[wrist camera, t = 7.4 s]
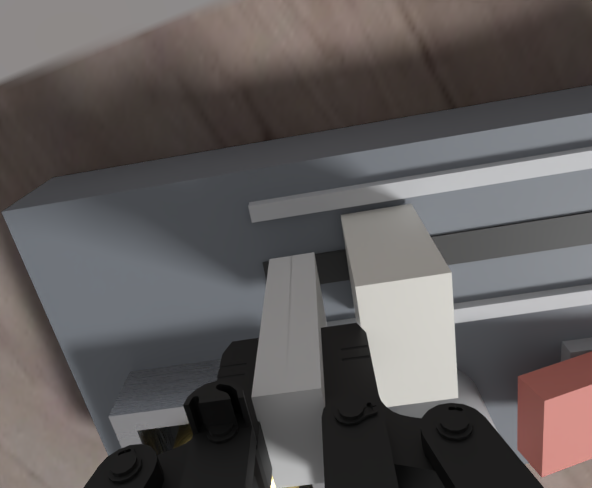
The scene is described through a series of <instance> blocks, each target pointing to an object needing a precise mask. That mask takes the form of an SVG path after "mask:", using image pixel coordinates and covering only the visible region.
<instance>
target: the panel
mask: <svg viewBox="0 0 592 488" xmlns="http://www.w3.org/2000/svg"><path fill="white" fill-rule="evenodd" d="M406 204H412V206H413V208H414V209H415V211H416V213H417V214H418V216H419V218H420V219H421V221H422V223H423V225H424V226H425V228H426V230H427V231H428V233H429V235H430V236H431V238H432V240H433V242H434V243H435V245H436V247H437V248H438V250H439V252H440V253H441V255H442V257H443V259H444V260H445V262H446V264H447V265H448V267H449V269H450V270H451V272H452V287H453V306H454V324H455V343H456V362H457V381H458V398H454V399H446V400H439V401H431V402H423V403H415V404H408V405H400V406H392V407H387V408H389V409H390V410H392V411H393V412H396V413H398V414H400V415H404V416H409V417H416V418H422V417H423V416H424V414H425V413H426V412H427V411H428V410H429V409H431V408H433V407H435V406H437V405H439V404H446V403H458V404H465V405H467V406H470V407H472V408H475V409H476V410H478V411H479V412H480V413H481V414H482V415H484V416H485V417H486V418H487V420H488V421H489V422H490V423H491V425H492V426H493V427H494V428H495V429H496V431H497V432H498V433H499V434H500V435H501V437H502V438H503V439H504V440H505V441H506V443H507V444H508V445H509V446H510V448H511V449H512V450H513V451H514V452H515V454H516V455H517V456H518V457H519V458H520V460H521V461H522V462H523V463H524V464H526V463H529V462H528V461H527V460H526V459H525V458H524V457H523V456H522V454H521V453H520V452H519V451H518V450H517V418H518V376H520V375H523V374H526V373H529V372H532V371H535V370H538V369H541V368H544V367H547V366H550V365H553V364H556V363H559V362H562V361H565V360H568V359H571V358H574V357H577V356H580V355H583V354H585V353H588V352H591V351H592V85H589V86H583V87H577V88H572V89H566V90H560V91H554V92H548V93H542V94H537V95H531V96H525V97H519V98H513V99H508V100H502V101H496V102H490V103H484V104H479V105H473V106H467V107H461V108H455V109H449V110H444V111H438V112H432V113H426V114H420V115H415V116H409V117H403V118H397V119H391V120H385V121H380V122H374V123H368V124H362V125H356V126H351V127H345V128H339V129H333V130H327V131H321V132H316V133H310V134H304V135H298V136H292V137H287V138H281V139H275V140H269V141H263V142H257V143H252V144H246V145H240V146H234V147H228V148H223V149H217V150H211V151H205V152H199V153H193V154H188V155H182V156H176V157H170V158H164V159H159V160H153V161H147V162H141V163H135V164H129V165H124V166H118V167H112V168H106V169H100V170H95V171H89V172H83V173H77V174H71V175H65V176H60V177H54V178H51V179H50V180H48V181H47V182H45V183H44V184H42V185H41V186H39V187H38V188H36V189H35V190H33V191H32V192H30V193H29V194H27V195H26V196H24V197H23V198H21V199H20V200H18V201H17V202H15V203H14V204H12V205H11V206H10V207H8V208H7V209H5V210H4V211H2V214H3V217H4V219H5V221H6V223H7V226H8V228H9V230H10V233H11V235H12V237H13V239H14V242H15V244H16V246H17V249H18V251H19V253H20V255H21V258H22V260H23V262H24V264H25V267H26V269H27V271H28V274H29V276H30V278H31V280H32V283H33V285H34V287H35V290H36V292H37V294H38V296H39V299H40V301H41V303H42V305H43V308H44V310H45V312H46V315H47V317H48V319H49V321H50V324H51V326H52V328H53V331H54V333H55V335H56V337H57V340H58V342H59V344H60V346H61V349H62V351H63V353H64V356H65V358H66V360H67V362H68V365H69V367H70V369H71V372H72V374H73V376H74V378H75V381H76V383H77V385H78V387H79V390H80V392H81V394H82V397H83V399H84V401H85V403H86V406H87V408H88V410H89V412H90V415H91V417H92V419H93V422H94V424H95V426H96V428H97V431H98V433H99V435H100V438H101V440H102V442H103V444H104V447H105V449H106V451H107V453H108V456H109V455H111V454H112V453H114V452H115V451H117V450H118V449H121V445H120V443H119V441H118V438H117V436H116V433H115V431H114V429H113V426H112V424H111V422H110V419H109V414H110V412H111V410H112V408H113V406H114V404H115V402H116V400H117V397H118V395H119V393H120V391H121V389H122V387H123V385H124V383H125V381H126V378H127V376H128V374H129V372H130V371H137V370H144V369H151V368H159V367H166V366H173V365H180V364H187V363H194V362H201V361H209V360H216V359H221V358H222V354H223V353H224V351H225V350H226V349H227V348H228V346H229V345H230V344H231V342H232V341H239V340H246V339H253V338H259V335H260V327H261V319H262V312H263V304H264V296H265V289H266V281H267V274H268V266H269V259H273V258H280V257H286V256H293V255H299V254H306V253H312V252H314V254H315V259H316V265H317V271H318V276H319V282H320V287H321V293H322V299H323V304H324V310H325V315H326V321H327V327H329V326H336V325H343V324H350V323H357V322H356V317H355V310H354V304H353V297H352V290H351V283H350V276H349V270H348V263H347V256H346V249H345V242H344V236H343V229H342V222H341V215H343V214H349V213H355V212H362V211H368V210H374V209H380V208H387V207H393V206H399V205H406ZM170 428H171V431H172V434H173V437H174V439H176V436H177V432H178V429H179V425H177V426H170Z"/></svg>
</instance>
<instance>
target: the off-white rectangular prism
mask: <svg viewBox="0 0 592 488" xmlns="http://www.w3.org/2000/svg"><path fill="white" fill-rule="evenodd" d="M341 222H342V229H343V236H344V242H345V249H346V256H347V263H348V270H349V276H350V283H351V290H352V297H353V304H354V310H355V317H356V322H357V324H358V325H359V326H360V327H361V328H362V329H363V330H364V331H365V332H366V334H367V339H368V344H369V349H370V354H371V359H372V364H373V369H374V374H375V379H376V384H377V389H378V394H379V397H380V399H381V401H382V402H383V404H384V405H385V406H386V407H392V406H400V405H408V404H415V403H423V402H431V401H439V400H446V399H454V398H458V381H457V362H456V343H455V324H454V306H453V287H452V272H451V270H450V269H449V267H448V265H447V264H446V262H445V260H444V259H443V257H442V255H441V253H440V252H439V250H438V248H437V247H436V245H435V243H434V242H433V240H432V238H431V236H430V235H429V233H428V231H427V230H426V228H425V226H424V225H423V223H422V221H421V219H420V218H419V216H418V214H417V213H416V211H415V209H414V208H413V206H412V204H406V205H399V206H393V207H387V208H380V209H374V210H368V211H362V212H355V213H349V214H343V215H341Z"/></svg>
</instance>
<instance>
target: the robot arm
mask: <svg viewBox="0 0 592 488" xmlns="http://www.w3.org/2000/svg"><path fill="white" fill-rule="evenodd" d="M183 407H184V410H185V413H186V415H187V418H188V421H189V424H190V427H191V430H192V433H193V436H192V439H191V440H190V441H188V442H187V443H185V444H183V445H181V446H179V447H177V448H174V449H172V450H169V451H167V452H164V453H161V454H159V455H157V454H156V452H155V451H154V450H153V449H152V447H151V446H147V445H144V444H135V445H129V446H126V447H124V448H121V449H118V450H117V451H115V452H114V453H112V454H111V455H109V456H108V457H107V458H106V459H105V460H104V461H103V462H102V463H101V464H100V465H99V467H98V468H97V470H96V471H95V472H94V474H93V475H92V477H91V478H90V479H89V481H88V482H87V484H86V485H85V487H84V488H271V483H272V476H273V480H274V483H275V487H276V488H284V487H293V486H301V485H310V484H319V483H324V485H325V488H544V487H543V486H542V485H541V484H540V483H539V481H538V480H537V479H536V478H535V477H534V475H533V474H532V473H531V472H530V470H529V469H528V468H527V467H526V466H525V464H524V463H523V462H522V461H521V460H520V458H519V457H518V456H517V455H516V454H515V452H514V451H513V450H512V449H511V448H510V446H509V445H508V444H507V443H506V441H505V440H504V439H503V438H502V437H501V435H500V434H499V433H498V432H497V431H496V429H495V428H494V427H493V426H492V425H491V423H490V422H489V421H488V420H487V418H486V417H485V416H484V415H482V414H481V413H480V412H479V411H478V410H476V409H475V408H472V407H470V406H467V405H465V404H458V403H446V404H439V405H437V406H435V407H433V408H431V409H429V410H428V411H427V412H426V413H425V414H424V416H423V417H422V418H416V417H409V416H404V415H400V414H398V413H396V412H393V411H392V410H390V409H389V408H387V407H386V406H385V405H384V404H383V402H382V401H381V399H380V397H379V394H378V389H377V384H376V379H375V374H374V369H373V364H372V359H371V354H370V349H369V344H368V339H367V334H366V332H365V331H364V330H363V329H362V328H361V327H360V326H359V325H358V324H357V323H350V324H343V325H336V326H329V327H327V321H326V315H325V310H324V304H323V299H322V293H321V287H320V282H319V276H318V271H317V265H316V259H315V254H314V252H312V253H306V254H299V255H293V256H286V257H280V258H273V259H269V266H268V274H267V281H266V289H265V296H264V304H263V312H262V319H261V327H260V335H259V338H253V339H246V340H239V341H232V342H231V344H230V345H229V346H228V348H227V349H226V350H225V351H224V353H223V354H222V358H221V362H220V369H219V371H218V375H217V380H216V381H215V382H211V383H207V384H205V385H203V386H201V387H199V388H197V389H196V390H195V391H194V392H192V393H191V394H190V395H189V396H188V397H187V399H186V401H185V403H184V404H183Z"/></svg>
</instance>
